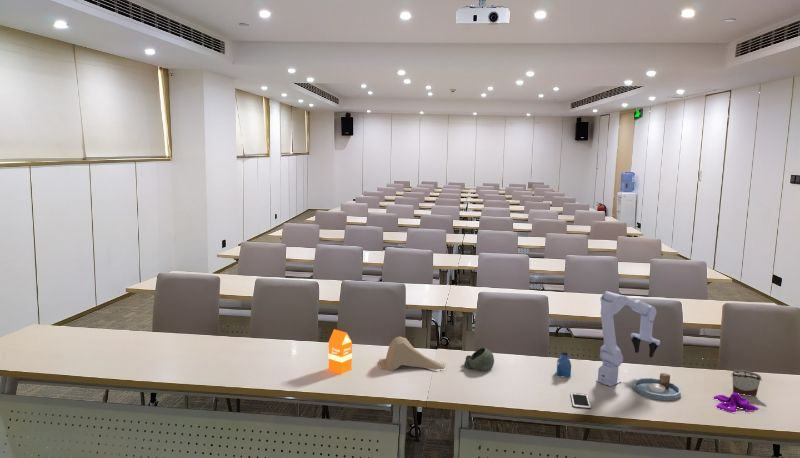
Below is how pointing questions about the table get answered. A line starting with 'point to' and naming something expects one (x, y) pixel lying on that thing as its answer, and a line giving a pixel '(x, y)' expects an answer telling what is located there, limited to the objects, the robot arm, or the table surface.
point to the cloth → (734, 403)
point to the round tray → (656, 389)
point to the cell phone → (580, 400)
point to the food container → (745, 382)
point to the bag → (406, 357)
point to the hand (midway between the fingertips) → (643, 354)
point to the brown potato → (664, 380)
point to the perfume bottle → (564, 365)
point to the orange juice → (340, 352)
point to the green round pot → (480, 360)
